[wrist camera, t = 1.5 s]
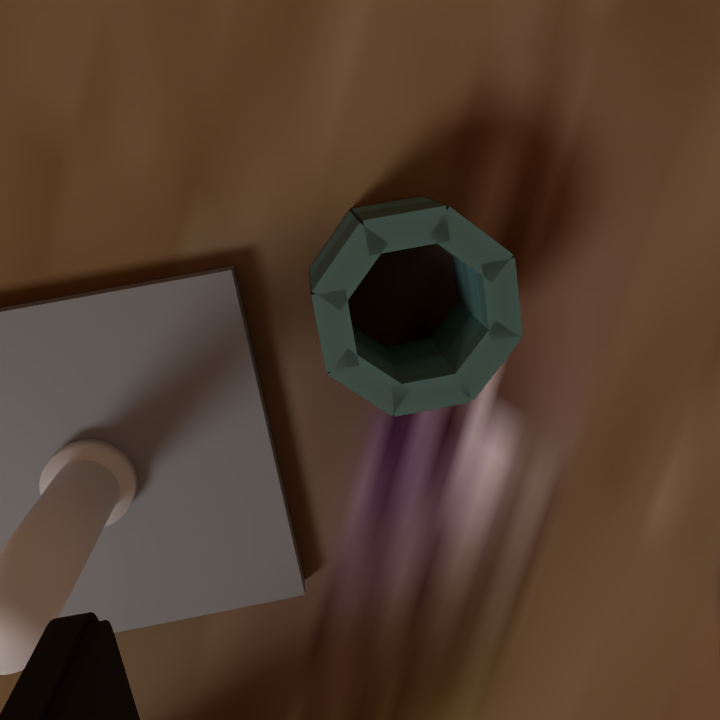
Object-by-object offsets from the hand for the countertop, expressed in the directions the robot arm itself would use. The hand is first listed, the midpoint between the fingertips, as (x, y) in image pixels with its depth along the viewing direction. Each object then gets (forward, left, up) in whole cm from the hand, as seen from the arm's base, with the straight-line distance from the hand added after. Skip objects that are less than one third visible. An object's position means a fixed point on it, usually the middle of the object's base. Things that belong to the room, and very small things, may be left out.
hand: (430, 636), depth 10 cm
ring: (-2, -2, -17) cm, 18 cm away
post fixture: (+11, +3, -17) cm, 21 cm away
